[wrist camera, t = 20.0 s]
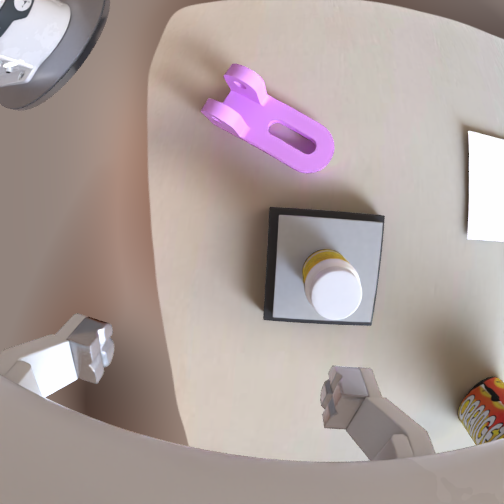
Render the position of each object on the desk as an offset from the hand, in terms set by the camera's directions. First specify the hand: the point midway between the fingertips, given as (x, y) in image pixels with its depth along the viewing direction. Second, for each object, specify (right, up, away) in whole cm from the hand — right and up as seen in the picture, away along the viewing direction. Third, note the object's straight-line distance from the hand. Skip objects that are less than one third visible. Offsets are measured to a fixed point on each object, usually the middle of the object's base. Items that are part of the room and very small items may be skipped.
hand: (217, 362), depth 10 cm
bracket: (+4, +17, +22) cm, 28 cm away
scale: (+9, +2, +23) cm, 25 cm away
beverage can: (+37, -19, +23) cm, 47 cm away
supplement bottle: (+9, +2, +20) cm, 22 cm away
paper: (+39, +10, +18) cm, 44 cm away
